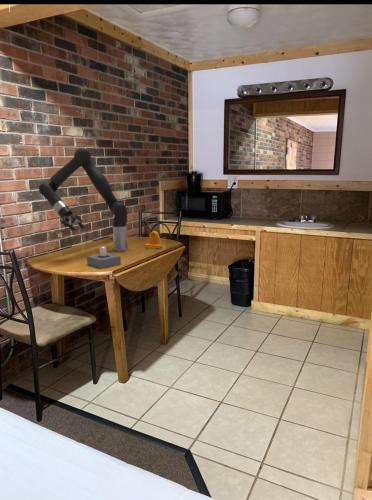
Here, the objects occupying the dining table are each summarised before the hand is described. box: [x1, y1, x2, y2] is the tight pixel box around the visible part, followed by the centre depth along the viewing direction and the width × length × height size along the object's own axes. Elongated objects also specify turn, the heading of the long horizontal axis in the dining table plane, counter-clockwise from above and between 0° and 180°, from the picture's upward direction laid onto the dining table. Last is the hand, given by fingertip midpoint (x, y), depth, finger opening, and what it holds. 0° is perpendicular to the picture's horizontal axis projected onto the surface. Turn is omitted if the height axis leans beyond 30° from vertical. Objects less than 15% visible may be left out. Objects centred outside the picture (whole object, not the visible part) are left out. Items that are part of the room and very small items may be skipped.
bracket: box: [144, 230, 163, 250], centre depth 264 cm, size 11×7×12 cm, turn 74°
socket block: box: [86, 252, 122, 270], centre depth 218 cm, size 14×14×5 cm
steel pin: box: [98, 245, 108, 258], centre depth 217 cm, size 4×4×10 cm
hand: (78, 229), depth 222 cm, fingers open, 8 cm apart
